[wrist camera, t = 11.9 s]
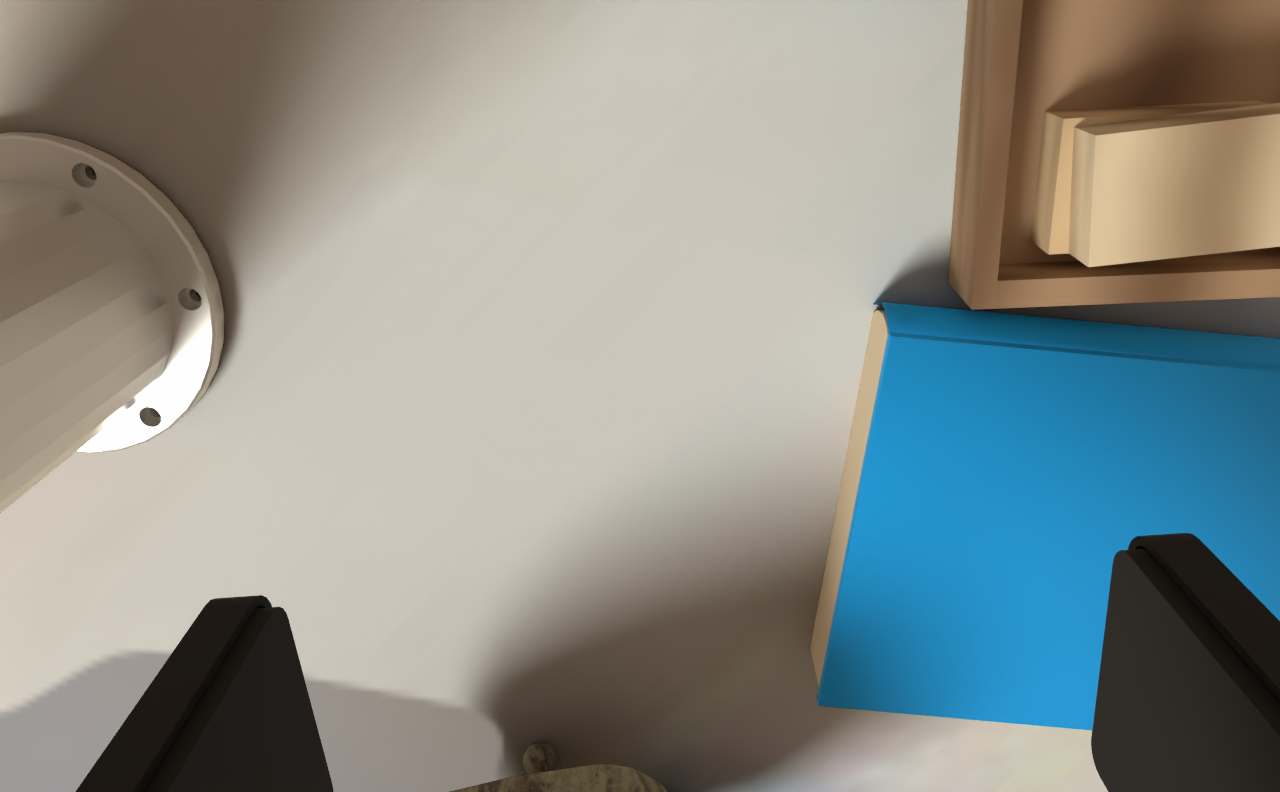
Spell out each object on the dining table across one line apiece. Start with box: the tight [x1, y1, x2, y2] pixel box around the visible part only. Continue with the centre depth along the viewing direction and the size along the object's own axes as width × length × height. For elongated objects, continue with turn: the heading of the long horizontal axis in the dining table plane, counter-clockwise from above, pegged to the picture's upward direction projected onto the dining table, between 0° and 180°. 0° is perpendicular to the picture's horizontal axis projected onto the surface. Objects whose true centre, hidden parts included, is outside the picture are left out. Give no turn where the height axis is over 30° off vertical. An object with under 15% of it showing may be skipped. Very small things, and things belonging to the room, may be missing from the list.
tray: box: [948, 0, 1280, 310], centre depth 32 cm, size 12×18×3 cm, turn 3°
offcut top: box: [1068, 103, 1280, 267], centre depth 32 cm, size 6×4×2 cm, turn 97°
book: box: [810, 302, 1280, 730], centre depth 40 cm, size 17×4×25 cm
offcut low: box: [1031, 101, 1269, 254], centre depth 34 cm, size 7×4×2 cm, turn 93°
